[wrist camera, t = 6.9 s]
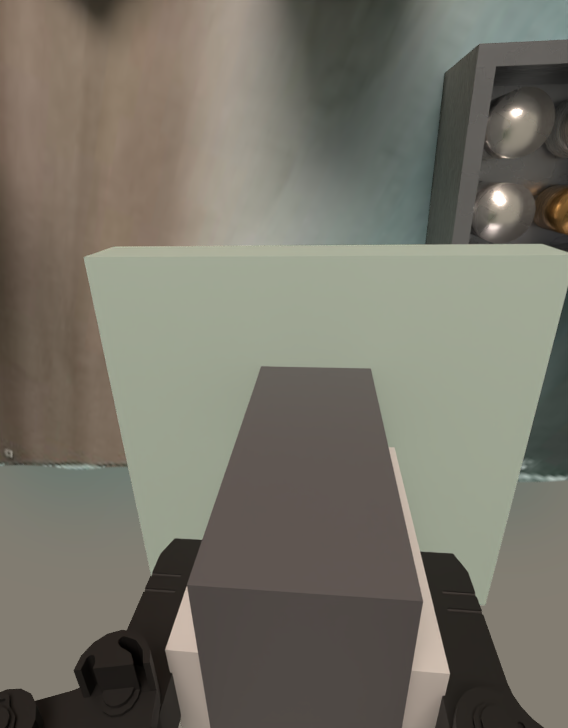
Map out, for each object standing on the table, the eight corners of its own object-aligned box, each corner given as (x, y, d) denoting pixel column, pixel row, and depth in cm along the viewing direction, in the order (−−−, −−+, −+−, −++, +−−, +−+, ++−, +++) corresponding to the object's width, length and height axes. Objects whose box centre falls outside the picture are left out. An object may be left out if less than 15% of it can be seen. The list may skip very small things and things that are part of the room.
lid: (168, 545, 20) (39, 847, 11) (114, 246, 15) (-239, 368, 5) (470, 564, 19) (601, 921, 10) (542, 244, 13) (1009, 397, 4)
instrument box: (424, 256, 33) (447, 276, 27) (444, 72, 28) (479, 43, 22) (586, 255, 32) (651, 275, 26) (638, 64, 27) (733, 31, 21)
